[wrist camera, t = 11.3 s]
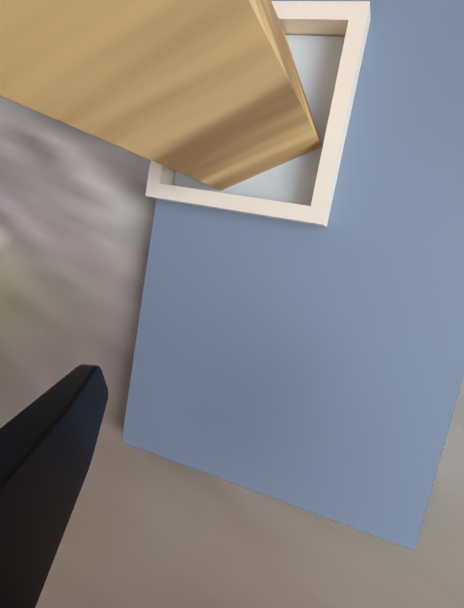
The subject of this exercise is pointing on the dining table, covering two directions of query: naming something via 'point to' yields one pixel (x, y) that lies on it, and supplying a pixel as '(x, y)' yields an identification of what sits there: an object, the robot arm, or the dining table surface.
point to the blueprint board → (321, 282)
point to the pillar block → (163, 80)
